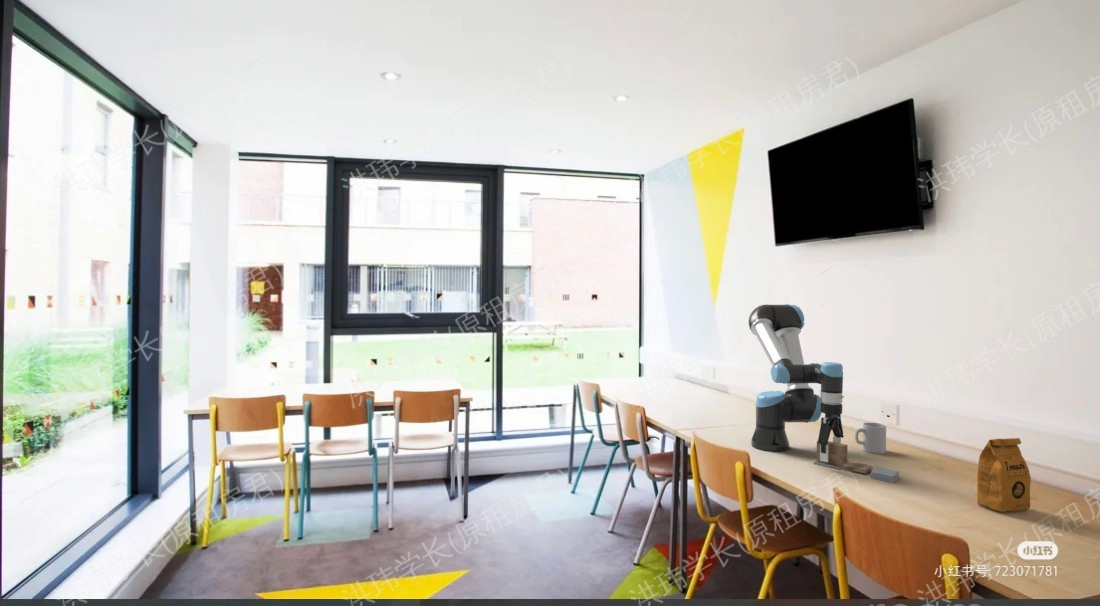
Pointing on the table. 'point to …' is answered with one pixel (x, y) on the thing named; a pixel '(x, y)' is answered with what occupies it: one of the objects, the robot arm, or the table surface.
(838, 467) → the pad
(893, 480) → the tile
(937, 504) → the table surface
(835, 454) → the stepped wooden block
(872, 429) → the mug
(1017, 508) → the coffee package
